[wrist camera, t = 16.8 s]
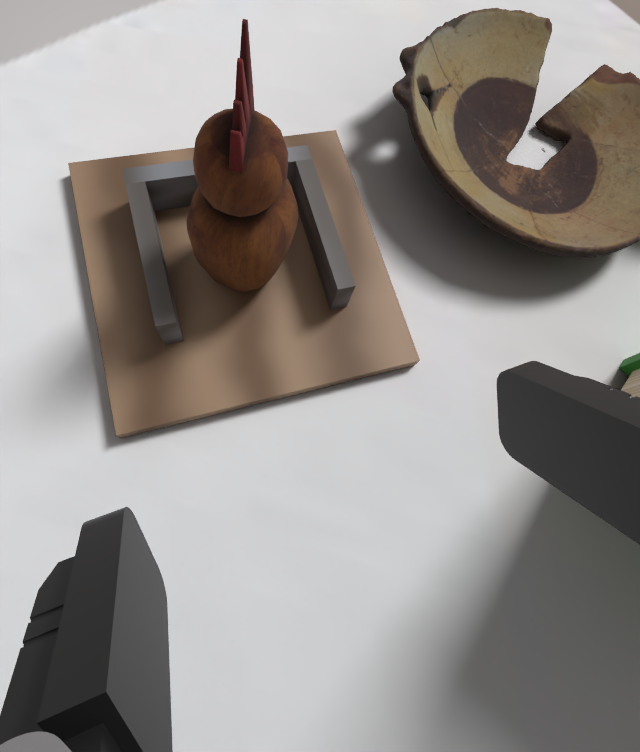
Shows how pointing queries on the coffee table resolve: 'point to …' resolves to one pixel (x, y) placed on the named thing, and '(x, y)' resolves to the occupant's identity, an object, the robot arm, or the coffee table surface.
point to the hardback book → (632, 375)
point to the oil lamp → (506, 126)
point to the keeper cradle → (231, 292)
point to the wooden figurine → (241, 191)
